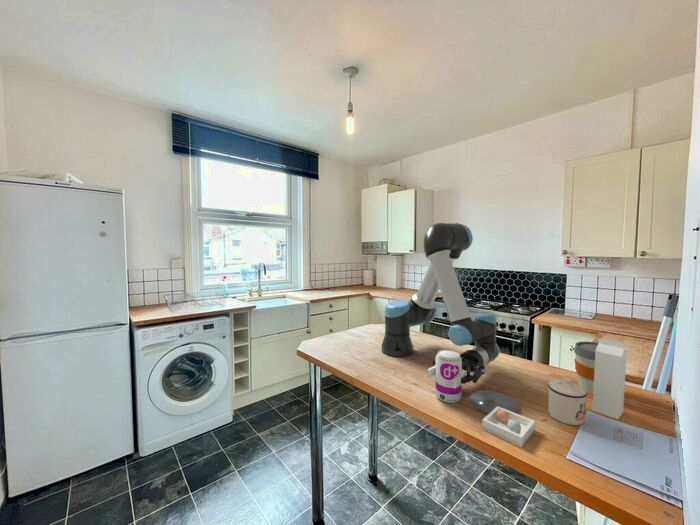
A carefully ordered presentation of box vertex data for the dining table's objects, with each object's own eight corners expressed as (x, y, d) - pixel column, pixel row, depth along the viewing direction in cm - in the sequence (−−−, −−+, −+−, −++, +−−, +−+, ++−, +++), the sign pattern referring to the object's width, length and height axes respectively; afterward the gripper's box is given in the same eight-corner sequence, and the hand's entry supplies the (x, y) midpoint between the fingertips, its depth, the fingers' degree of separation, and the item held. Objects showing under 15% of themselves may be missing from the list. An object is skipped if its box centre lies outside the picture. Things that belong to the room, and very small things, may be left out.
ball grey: (505, 432, 79) (505, 421, 79) (510, 427, 81) (510, 416, 81) (518, 438, 76) (518, 426, 76) (522, 432, 78) (523, 421, 78)
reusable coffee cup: (572, 391, 101) (574, 349, 100) (572, 377, 111) (574, 338, 110) (622, 403, 93) (624, 357, 92) (617, 387, 103) (619, 345, 102)
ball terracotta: (494, 420, 84) (495, 410, 83) (499, 416, 86) (499, 405, 86) (506, 426, 81) (507, 415, 81) (511, 421, 83) (511, 410, 83)
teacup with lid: (583, 430, 80) (586, 389, 79) (544, 417, 86) (546, 379, 85) (587, 411, 89) (589, 374, 88) (551, 400, 95) (552, 366, 94)
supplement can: (461, 405, 93) (462, 360, 92) (434, 401, 96) (435, 357, 94) (460, 393, 101) (461, 350, 99) (435, 389, 103) (436, 348, 102)
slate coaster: (462, 403, 94) (462, 400, 94) (481, 388, 104) (481, 386, 104) (508, 423, 84) (508, 420, 84) (525, 404, 93) (525, 402, 93)
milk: (618, 420, 85) (622, 346, 83) (591, 410, 90) (595, 340, 88) (623, 412, 88) (627, 341, 87) (597, 403, 93) (601, 336, 91)
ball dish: (482, 428, 82) (482, 419, 81) (497, 414, 88) (497, 406, 88) (521, 447, 74) (521, 437, 74) (534, 430, 81) (534, 421, 81)
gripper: (503, 378, 102) (473, 403, 87) (447, 360, 118) (413, 378, 103) (504, 357, 101) (473, 378, 86) (447, 342, 117) (413, 357, 102)
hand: (440, 378), depth 94 cm, fingers open, 9 cm apart
